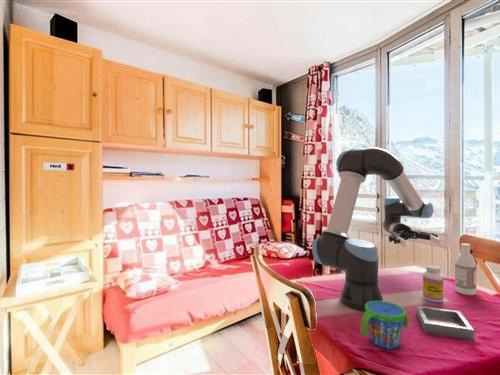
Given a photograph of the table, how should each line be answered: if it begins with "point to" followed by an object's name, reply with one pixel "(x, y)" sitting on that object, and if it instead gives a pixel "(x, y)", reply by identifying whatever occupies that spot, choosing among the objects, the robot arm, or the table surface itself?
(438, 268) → the supplement bottle
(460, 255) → the bath foam
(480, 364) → the table surface
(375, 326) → the snack cup
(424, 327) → the grey square tray
